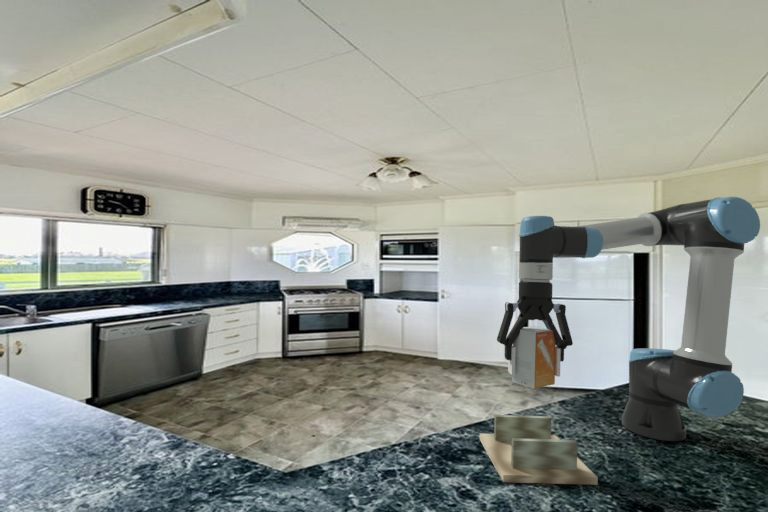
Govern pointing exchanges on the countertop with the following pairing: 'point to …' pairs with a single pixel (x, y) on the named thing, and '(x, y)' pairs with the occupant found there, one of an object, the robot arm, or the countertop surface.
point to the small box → (535, 357)
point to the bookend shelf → (534, 452)
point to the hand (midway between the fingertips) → (533, 374)
